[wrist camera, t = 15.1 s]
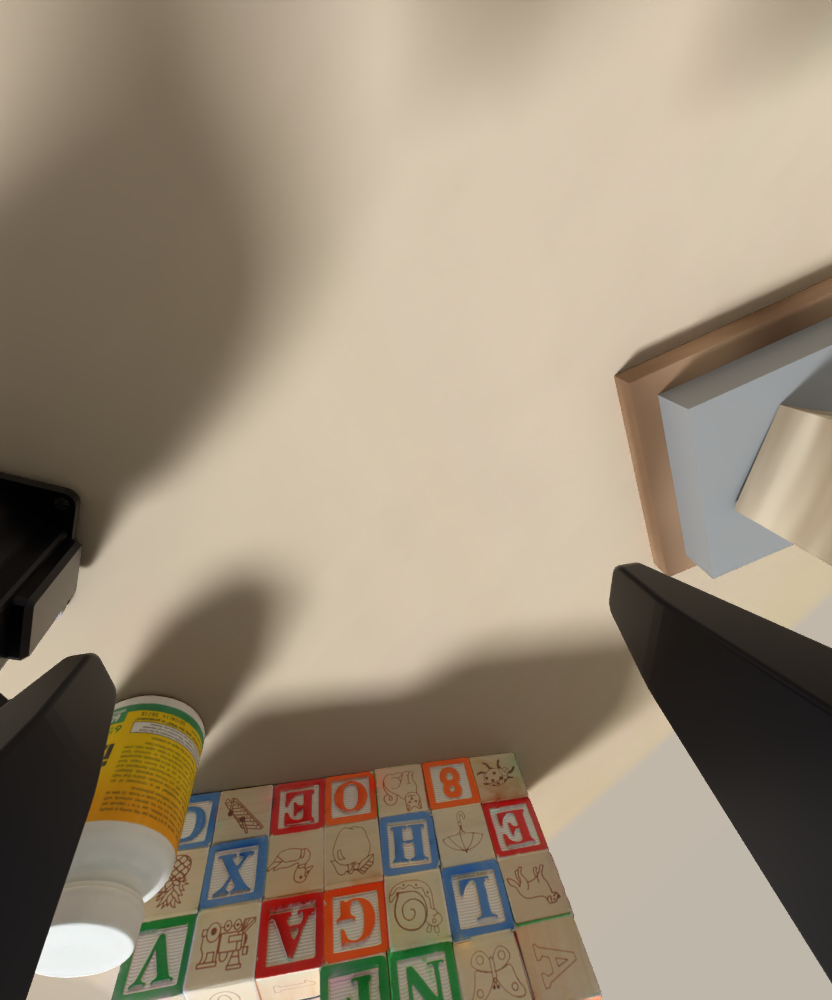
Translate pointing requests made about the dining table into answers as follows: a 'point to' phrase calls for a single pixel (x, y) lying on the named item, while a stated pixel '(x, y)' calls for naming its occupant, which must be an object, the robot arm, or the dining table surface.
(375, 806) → the stack of blocks
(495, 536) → the dining table surface
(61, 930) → the supplement bottle
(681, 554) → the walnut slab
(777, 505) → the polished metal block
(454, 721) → the dining table surface
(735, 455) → the slate slab
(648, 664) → the robot arm
